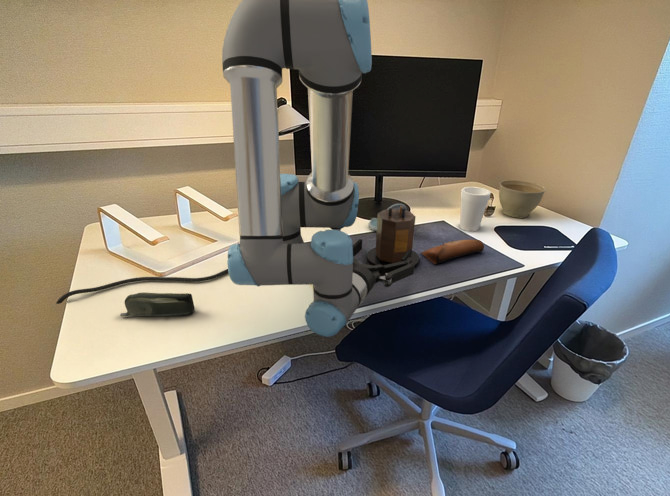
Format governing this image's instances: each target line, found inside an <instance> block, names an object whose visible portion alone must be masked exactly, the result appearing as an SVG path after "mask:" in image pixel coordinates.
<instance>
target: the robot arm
mask: <svg viewBox="0 0 670 496" xmlns="http://www.w3.org/2000/svg"><path fill="white" fill-rule="evenodd" d="M369 10H370V9H369V2H368V0H241V1H240V3H238V5H237V7H236V8H235V10H234V12H233V14H232V16H231V18H230V20H229V23H228V26H227V28H226V31H225V35H224V40H223V44H222V50H221V51H222V53H221V55H222V57H221V64H222V65H221V66H222V77H223V79H224V80H225V81H226V82H227V83H228V84H229V88H230V106H231V121H232V122H231V123H232V137H233V138H232V139H233V154H234V166H235V167H234V168H235V184H236V185H235V187H236V201H237V202H236V203H237V217H238V233H239V242H237V243H234V244H231V245H230V246H229V248H228V251H227V262H226V263H227V268H226V269H224V270H222V271H220V272H218V273H215V274H213V275H209V276H202V277H181V276H178V277H177V276H139V277H132V278H127V279H122V280H118V281H114V282H111V283H107V284H103V285H99V286H96V287H89V288H80V289H74V290H70V291H67V292H66V293H64V294H62V295H61V296H60V297H59V299H57V301H56V305H59V304H62V303H63V302H64V301H65V300H67V299H68V298H70V297H72V296H75V295H80V294H87V293H94V292H99V291H103V290H106V289H111V288H114V287H117V286H120V285H125V284H129V283H136V282H144V281H145V282H147V281H148V282H150V281H153V282H186V283H200V282H206V281H211V280H214V279H218V278H220V277H222V276H224V275H226V274H228V276H229V279H230V281H231V282H232V283H233V284H234V285H237V286H256V287H262V286H263V287H264V286H290V285H291V286H292V285H293V286H297V285H298V286H301V285H303V286H304V285H305V286H306V285H307V286H308V285H312V290H313V291H312V292H313V299H312V302H311V303H310V304H308V307H307V309H306V310H305V313H304V320H305V323H306V325H307V327H308V328H309V329H310V330H311V332H313V333H314V334H316V335H317V336H320V337H325V338H330V337H331V338H332V337H334V336H336V335H337V334H338V333H339V332H340V331H341V329H343V328H344V327H345V326H346V325H347V323H348V321H350V319H351V318H352V316H353V315H354V314H355V312H356V311H357V309H358V308H359V307H360V305H361V304H362V303H363V302H364V300H365V299H366V298H367V297H368V295H369V294H370V292H371V291H372V290H373V288H374V286H375V285H376V284H379V283H383V284H384V287H386V288H389V287H391V286H392V284H394V283H397V282H399V281H402V280H404V279H406V278H408V277H410V276H412V275H414V273H415V269H414V266H415V264H413V263H411V261H412V258H411V252H412V250H413V248H412V249H408V251H407V252H406V254H405V255H404V256H403V258H402V259H401V262H397V263H392V264H388V265H381V264H379V265H374V266H373V265H369V264H368V263H364V262H362V263H361V262H360V261H359V260H358V259H357V258H356V256H357V254H359V253H360V252H361V250H362V249H363V239H361V238H359V239H357V241H356V242H355V243H353V239H352V238H351V236H350V235H349V234H348V233H347V232H344V231H343V230H341V231H339V230H332V229H331V228H341V227H344V228H349V227H352V226H353V225H354V224H355V222H356V219H357V216H358V211H359V201H360V191H359V185H358V183H357V182H355V181H354V180H353V178H352V176H351V174H350V173H349V167H350V166H349V165H350V151H351V149H350V148H351V133H352V131H351V130H352V116H353V115H352V113H353V97H354V94H353V93H354V91H355V89H357V88H359V86H360V84H361V83H362V79H363V74H367V73H369V72H371V71H372V64H373V61H372V60H373V59H372V53H373V52H372V36H371V33H372V32H371V20H370V19H371V18H370V11H369ZM283 69H286V70H298V77H299V80H300V82H301V84H302V85H304V86H305V87H306V88H307V95H308V98H307V99H308V114H309V115H308V116H309V117H308V118H309V135H310V137H309V141H310V156H311V157H310V158H311V172H310V173H309V174H308V176H307V178H306V181H300V179H299V177H298V176H297V175H295V174H293V173H281V156H280V134H279V133H280V132H279V131H280V130H279V109H278V88H279V87H280V85H282V84H283ZM301 228H316V229H317V228H319V229H320V228H321V229H323V228H325V230H319V231H317V232H315V233H314V234H313V235H312V236H311V238H310V242H309V243H305V241H304V238H303V237H302V230H301ZM326 228H327V229H326ZM378 269H379V270H378Z"/></svg>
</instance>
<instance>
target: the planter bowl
mask: <svg viewBox="0 0 670 496" xmlns="http://www.w3.org/2000/svg"><path fill="white" fill-rule="evenodd" d="M545 193H546V188H545V187H544V186H543V185H540V184H537V183H535V182H531V181H525V180H518V179H506V180H502V181H500V182H499V189H498V200H499V203H500V206H501V208H502V213H503V214H504V215H505V216H508V217H511V218H517V219H524V218H528V216H529V215H530V213H532V212H533V211H534V210H535V209H536V208H537V207H538V206H539V205H540V203H541V202H542V200H543V197H544V194H545Z"/></svg>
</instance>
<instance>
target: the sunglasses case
mask: <svg viewBox="0 0 670 496" xmlns="http://www.w3.org/2000/svg"><path fill="white" fill-rule="evenodd" d="M484 249H485V245H484V243H483V241H481V240H480V239H459V240H452V241H447V242H443V244H441V245H437V246H433V247H430V248H429V249H426V250H423V251H422V252H421V253H422V254H421V255H422V256H423V257H424V258H425V259H427V260H428V261H429V262H431V263H432V264H433V265H437V264H441V263H444V262H446V261H447V262H448V261H450V260H453V259H455V258H458V257H459V258H460V257H463V256H466V255H470V254H471V255H472V254H475V253H478V252H481V253H482V252H483V251H484Z"/></svg>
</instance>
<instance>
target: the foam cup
mask: <svg viewBox="0 0 670 496" xmlns="http://www.w3.org/2000/svg"><path fill="white" fill-rule="evenodd" d="M491 195H492V192H491V190H489V189H487V188H484V187H478V186H465V187H462V188H461V191H460V218H459V227H460V229H461V230H463V231H466V232H477V231H478V230H479V228H480V226H481V223H482V220H483V218H484V216H485V212H486V208H487V206H488V203H489V201H490V199H491Z"/></svg>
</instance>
